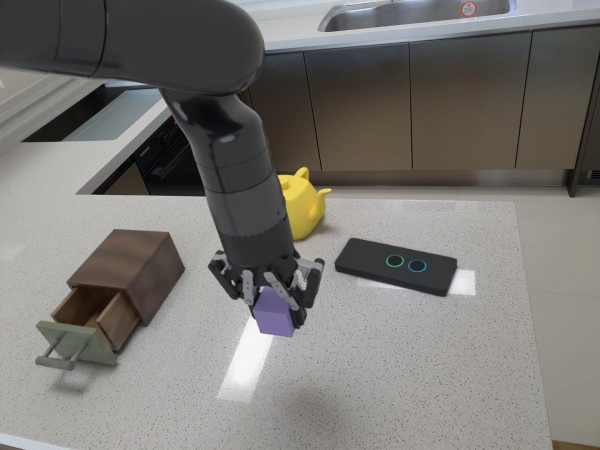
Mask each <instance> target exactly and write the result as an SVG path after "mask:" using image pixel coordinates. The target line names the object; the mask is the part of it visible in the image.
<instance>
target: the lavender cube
mask: <svg viewBox="0 0 600 450" xmlns="http://www.w3.org/2000/svg"><path fill="white" fill-rule="evenodd" d="M260 292H261V294H260V296H259V298H258V300H257V302H256V304H255V307H254V309H253V313H254V316H255V319H254V320H255V322H256V325H257V328H258V331H259V334H263V335H268V336H269V335H270V336H278V337H284V338H291V339H292V338H293V337H294V335H295V332H296V329H294V327H293V323H292V319H291V316H290V312H289V306H288V305H287V303H286V301H285V300H284V298H280V297H279V296H278V294H277V293H276V291H275V290H274V288H272V287H268V286H263V288H262V290H261V291H260Z"/></svg>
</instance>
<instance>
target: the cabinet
mask: <svg viewBox="0 0 600 450" xmlns="http://www.w3.org/2000/svg"><path fill="white" fill-rule="evenodd" d="M185 270H186V266H185V264H184V263H183V260H182V258H181V256H180V253H179V251H178V249H177V246H176V244H175V242H174V239H173V238H172V235H171V233H170V231H162V230H161V231H160V230H143V229H125V228H123V229H122V228H114V229H113V230H111V232H110V233H109V234H108V235H107V236H106V237H105V238H104V239H103V241H102V242H101V243H100V244H99V245H98V246H97V247H96V248H95V249H94V250H93V251H92V253H91V254H90V255H89V256H88V257H87V258H86V259H85V260H84V261H83V263H82V264H81V265H79V267H78V268H77V269H76V270H75V271H74V273H73V274H71V275H70V276H69V278H68V279H67V280H66V281H65V284H67V286H68V288H69V290H70V292H71V291H72V290H73V289H74V287H75V286H81V287H90V288H99V289H109V290H118V291H124V292H125V294H126V296H127V298H128V299H129V301H130V303H131V304H132V306H133V308H134V310H135V311H136V313H137V315H138V317H139V318H140V320H139V321H138V323H137V324H136V326H141V327H148V326H149V325H150V323H151V322H152V321H153V319H154V317H155V316H156V314H157V313H158V311H159V310H160V308H161V307H162V305H163V304H164V302H165V301H166V299H167V297H168V296H169V295H170V293H171V292H172V290H173V289H174V287H175V286H176V284H177V283H178V281H179V279H180V278H181V276H182V275H183V273H184V272H185Z"/></svg>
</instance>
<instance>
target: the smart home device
mask: <svg viewBox="0 0 600 450" xmlns="http://www.w3.org/2000/svg"><path fill="white" fill-rule="evenodd" d="M333 264H334V270H335V271H337V272H339V273H342V274H347V275H350V276H355V277H358V278H364V279H367V280H371V281H375V282H379V283H383V284H388V285H392V286H396V287H400V288H404V289H409V290H413V291H417V292H421V293H425V294H430V295H433V296H436V297H437V296H438V297H446V296H447V294H448V292H449V289H450V286H451V285H452V281H453V279H454V276H455V273H456V270H457V267H458V259H457V258H455V257H452V256H447V255H443V254H437V253H432V252H428V251H422V250H418V249H413V248H408V247H403V246H397V245H393V244H389V243H384V242H377V241H373V240H368V239H363V238H358V237H350V238H349V239H348V240H347V242H346V243H345V245H344V247H343V248H342V249H341V251H340V253H339V255H338V256H337V258H335V261H334V263H333Z"/></svg>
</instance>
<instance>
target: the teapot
mask: <svg viewBox="0 0 600 450" xmlns="http://www.w3.org/2000/svg"><path fill="white" fill-rule="evenodd" d="M277 175H278V178H279V180H280V183H281V187H282V191H283V195H284V197H285V200H286V209H287V213H288V217H289V222H290V226H291V230H292V235H293V241H296V240H297V241H298V240H302V239H305V238H306V237H307V236H308V235H309V234H311V232H312V231H313V230H314V229H315V228H316V227H317V225H318V224H319V222H320V220H321V218H323V216H324V214H325V212H326V195H327V194H329V193H330V192H332V188H323V189H320V190H319V191H317V190H316V189H315V187H314V186H313V184H312V183H311V182H310V171H309V168H307V167H306V166H303V167H301V168H299V169H298V170H297V171H296V173H294V175H291V174H277Z"/></svg>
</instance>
